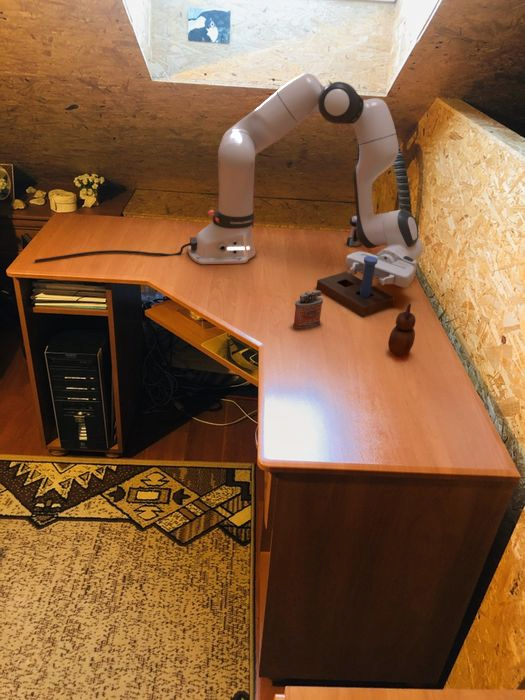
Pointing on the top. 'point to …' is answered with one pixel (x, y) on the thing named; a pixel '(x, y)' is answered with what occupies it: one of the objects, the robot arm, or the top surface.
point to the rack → (354, 294)
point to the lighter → (308, 310)
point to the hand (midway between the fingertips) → (365, 277)
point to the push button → (353, 233)
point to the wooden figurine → (402, 334)
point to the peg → (368, 276)
